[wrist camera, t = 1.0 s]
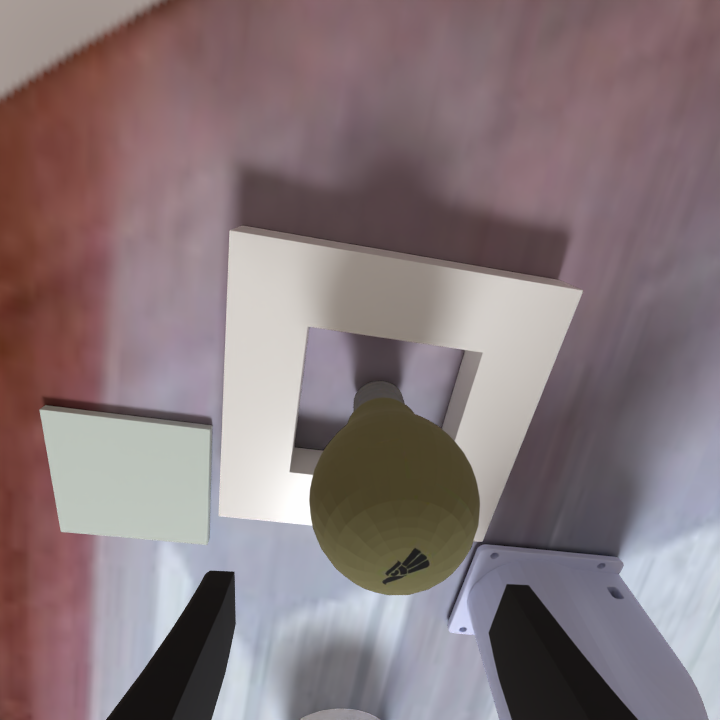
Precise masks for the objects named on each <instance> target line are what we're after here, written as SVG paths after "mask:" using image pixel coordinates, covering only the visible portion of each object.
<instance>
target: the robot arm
mask: <svg viewBox="0 0 720 720" xmlns="http://www.w3.org/2000/svg"><path fill="white" fill-rule="evenodd" d="M623 566H624V565H623V562H622V561H621V560H620V559H619V558H618V557H612V556H601V555H591V554H581V553H571V552H561V551H550V550H540V549H530V548H520V547H509V546H499V545H489V544H484V545H481V546H479V547H478V549H477V551H476V553H475V556H474V558H473V561H472V563H471V566H470V568H469V571H468V573H467V576H466V578H465V581H464V583H463V586H462V588H461V591H460V593H459V596H458V598H457V601H456V603H455V606H454V608H453V611H452V613H451V616H450V618H449V621H448V624H447V626H448V630H449V631H450V632H451V633H457V634H470V635H475V637H476V641H477V644H478V648H479V651H480V654H481V658H482V661H483V665H484V668H485V672H486V675H487V678H488V682H489V685H490V689H491V692H492V696H493V699H494V703H495V706H496V709H497V713H498V716H499V720H708V716H707V713H706V710H705V707H704V704H703V701H702V699H701V696H700V694H699V692H698V690H697V687H696V686H695V684H694V682H693V680H692V678H691V676H690V675H689V673H688V672H687V670H686V669H685V667H684V666H683V664H682V663H681V661H680V660H679V659H678V657H677V656H676V654H675V653H674V652H673V650H672V649H671V647H670V646H669V645H668V643H667V642H666V640H665V639H664V637H663V636H662V635H661V633H660V632H659V630H658V629H657V628H656V626H655V625H654V623H653V622H652V621H651V619H650V618H649V616H648V615H647V613H646V612H645V611H644V609H643V608H642V606H641V605H640V604H639V602H638V601H637V599H636V598H635V597H634V595H633V594H632V592H631V591H630V589H629V588H628V587H627V585H626V584H625V582H624V581H623V580H622V578H621V577H620V575H619V573H620V572H621V570H622V568H623ZM235 624H236V622H235V577H234V572H228V571H209V572H207V573H206V574H205V576H204V578H203V579H202V581H201V583H200V585H199V587H198V588H197V590H196V592H195V593H194V595H193V597H192V598H191V600H190V602H189V603H188V605H187V606H186V608H185V610H184V611H183V613H182V614H181V616H180V617H179V619H178V620H177V622H176V623H175V625H174V627H173V628H172V630H171V631H170V633H169V634H168V635H167V637H166V638H165V640H164V641H163V643H162V644H161V646H160V647H159V648H158V650H157V651H156V653H155V654H154V656H153V657H152V659H151V660H150V661H149V663H148V664H147V666H146V667H145V669H144V670H143V671H142V673H141V674H140V675H139V677H138V678H137V679H136V681H135V682H134V683H133V685H132V686H131V687H130V689H129V690H128V691H127V693H126V694H125V695H124V697H123V698H122V699H121V701H120V702H119V703H118V705H117V706H116V707H115V709H114V710H113V711H112V713H111V714H110V715H109V717H108V718H107V719H106V720H211V719H212V716H213V712H214V709H215V706H216V702H217V699H218V696H219V692H220V689H221V686H222V682H223V679H224V675H225V672H226V667H227V663H228V658H229V653H230V648H231V644H232V639H233V634H234V629H235Z"/></svg>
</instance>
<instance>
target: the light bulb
mask: <svg viewBox="0 0 720 720" xmlns="http://www.w3.org/2000/svg"><path fill="white" fill-rule="evenodd" d="M353 408H354V412H353V413H352V415H351V416H350V418H349V421H348V423H347V425H346V426H345V427H344V428H342V429H341V430H340V431H339V432H338V433H337V434H336V435H335V436H334V438H333V439H332V440H331V441H330V442H329V443H328V445H327V446H326V447H325V449H324V451H323V452H322V454H321V456H320V458H319V460H318V463H317V465H316V467H315V469H314V473H313V478H312V482H311V487H310V495H309V505H310V515H311V521H312V526H313V529H314V532H315V535H316V537H317V540H318V542H319V544H320V547H321V549H322V550H323V552H324V553H325V554H326V556H327V557H328V559H329V560H330V561H331V563H332V564H333V565H334V567H335V568H336V569H337V570H338V571H339V572H341V573H342V574H343V575H344V576H345V577H347V578H348V579H349V580H351V581H352V582H354V583H355V584H357V585H359V586H361V587H362V588H364V589H367V590H370V591H373V592H376V593H381V594H386V595H410V594H414V593H417V592H421V591H424V590H428V589H430V588H432V587H433V586H435V585H437V584H439V583H440V582H442V581H444V580H445V579H446V578H448V577H449V576H450V575H451V574H452V573H453V572H454V571H455V570H456V569H457V568H458V567H459V565H460V564H461V563H462V561H463V560H464V559H465V557H466V555H467V554H468V552H469V551H470V549H471V546H472V543H473V540H474V537H475V534H476V531H477V528H478V525H479V512H480V497H479V491H478V486H477V481H476V478H475V475H474V472H473V469H472V467H471V465H470V463H469V461H468V459H467V457H466V456H465V454H464V452H463V451H462V450H461V448H460V447H459V446H458V445H457V443H456V442H455V441H454V440H453V439H452V438H451V437H450V436H449V435H448V434H447V433H446V432H445V431H443V430H442V429H441V428H440V427H438V426H437V425H435V424H434V423H432V422H430V421H429V420H427V419H425V418H423V417H421V416H418V415H415V414H414V413H413V411H412V410H411V409H410V408H409V407H408V406H407V405H405V404H404V400H403V397H402V394H401V392H400V390H399V389H398V388H397V387H396V386H395V385H393V384H391V383H389V382H385V381H374V382H370V383H367V384H366V385H364V386H363V387H361V388H360V389H359V390H358V392H357V393H356V395H355V398H354V407H353Z"/></svg>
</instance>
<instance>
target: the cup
mask: <svg viewBox="0 0 720 720" xmlns="http://www.w3.org/2000/svg"><path fill="white" fill-rule="evenodd" d="M300 720H380V719H378V718H377V717H376V716H374V715H372V714H369V713H367V712H363V711H360V710H354V709H342V708H340V709H328V710H322V711H318V712H315V713H311V714H309V715H307V716H305V717H303V718H301V719H300Z"/></svg>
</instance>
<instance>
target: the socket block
mask: <svg viewBox="0 0 720 720" xmlns="http://www.w3.org/2000/svg"><path fill="white" fill-rule="evenodd" d="M582 293H583V290H581V289H578V288H576V287H574V286H572V285H569V284H567V283H565V282H562V281H560V280H556V279H551V278H545V277H539V276H533V275H527V274H522V273H516V272H510V271H504V270H498V269H493V268H487V267H481V266H475V265H469V264H464V263H458V262H452V261H446V260H440V259H434V258H429V257H423V256H417V255H411V254H405V253H400V252H394V251H388V250H382V249H376V248H371V247H365V246H359V245H353V244H347V243H342V242H336V241H330V240H324V239H318V238H313V237H307V236H301V235H295V234H289V233H284V232H278V231H272V230H266V229H260V228H254V227H249V226H243V225H242V226H240V227H237V228H234V229H232V230H230V233H229V259H228V286H227V312H226V338H225V364H224V391H223V417H222V443H221V469H220V495H219V516H223V517H233V518H243V519H253V520H263V521H274V522H284V523H294V524H304V525H312V521H311V515H310V505H309V495H310V487H311V482H312V478H313V473H314V469H315V467H316V465H317V463H318V460H319V458H320V456H321V454H322V452H323V451H322V450H313V449H305V448H296V447H294V445H295V438H296V430H297V422H298V414H299V406H300V398H301V390H302V382H303V374H304V367H305V359H306V351H307V343H308V335H309V327H314V328H321V329H328V330H334V331H341V332H348V333H355V334H361V335H368V336H375V337H381V338H388V339H395V340H401V341H408V342H415V343H422V344H428V345H435V346H442V347H448V348H455V349H462V350H465V353H464V356H463V359H462V363H461V366H460V369H459V373H458V376H457V379H456V383H455V386H454V389H453V393H452V396H451V399H450V403H449V406H448V409H447V413H446V416H445V419H444V423H443V426H442V430H443V431H445V432H446V433H447V434H448V435H449V436H450V437H451V438H452V439H453V440H454V441H455V442H456V443H457V445H458V446H459V447H460V448H461V450H462V451H463V452H464V454H465V456H466V457H467V459H468V461H469V463H470V465H471V467H472V469H473V472H474V475H475V478H476V481H477V486H478V491H479V497H480V512H479V525H478V528H477V531H476V534H475V537H474V540H473V541H477V542H483V539H484V537H485V534H486V532H487V529H488V527H489V524H490V522H491V519H492V517H493V514H494V512H495V509H496V507H497V504H498V502H499V499H500V497H501V494H502V492H503V489H504V487H505V484H506V482H507V479H508V477H509V474H510V472H511V469H512V467H513V464H514V462H515V459H516V457H517V455H518V452H519V450H520V447H521V445H522V442H523V440H524V437H525V435H526V432H527V430H528V427H529V425H530V422H531V420H532V417H533V415H534V412H535V410H536V407H537V405H538V402H539V400H540V397H541V395H542V392H543V390H544V387H545V385H546V382H547V380H548V377H549V375H550V372H551V370H552V367H553V365H554V362H555V360H556V357H557V355H558V352H559V350H560V347H561V345H562V342H563V340H564V337H565V335H566V332H567V330H568V327H569V325H570V322H571V320H572V317H573V315H574V312H575V310H576V308H577V305H578V303H579V300H580V298H581V295H582Z"/></svg>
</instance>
